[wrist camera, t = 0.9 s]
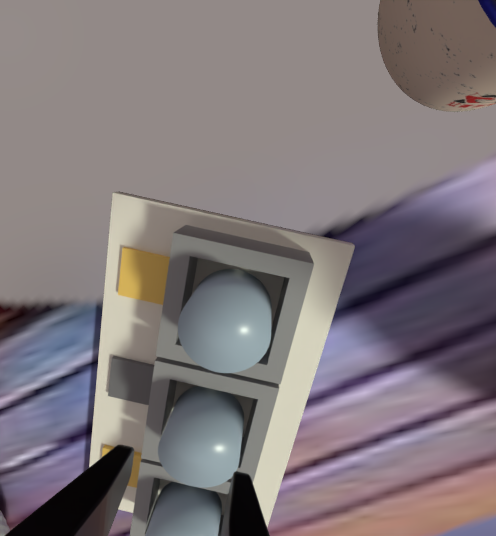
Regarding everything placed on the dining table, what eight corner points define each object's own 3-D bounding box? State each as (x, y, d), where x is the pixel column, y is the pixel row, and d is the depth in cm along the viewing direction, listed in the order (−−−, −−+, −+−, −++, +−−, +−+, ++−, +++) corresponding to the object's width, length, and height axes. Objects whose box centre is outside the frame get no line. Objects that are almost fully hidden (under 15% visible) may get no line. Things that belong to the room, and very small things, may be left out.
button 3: (227, 487, 22) (220, 534, 19) (215, 533, 24) (207, 584, 21) (163, 472, 22) (146, 517, 19) (155, 519, 24) (138, 568, 21)
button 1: (279, 278, 18) (281, 299, 15) (261, 350, 19) (259, 382, 16) (199, 260, 18) (185, 278, 15) (187, 333, 19) (171, 361, 16)
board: (352, 242, 19) (367, 257, 16) (262, 532, 27) (261, 581, 23) (118, 191, 20) (89, 195, 16) (91, 492, 27) (67, 535, 24)
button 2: (251, 394, 20) (247, 432, 17) (236, 451, 21) (230, 495, 18) (179, 378, 20) (163, 413, 17) (169, 436, 21) (153, 477, 18)
